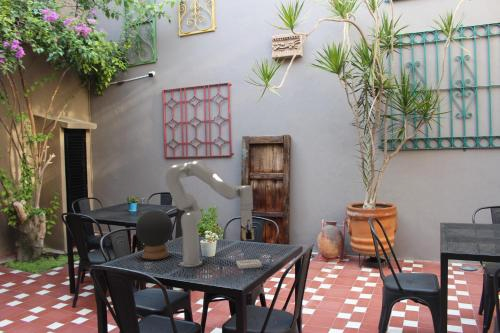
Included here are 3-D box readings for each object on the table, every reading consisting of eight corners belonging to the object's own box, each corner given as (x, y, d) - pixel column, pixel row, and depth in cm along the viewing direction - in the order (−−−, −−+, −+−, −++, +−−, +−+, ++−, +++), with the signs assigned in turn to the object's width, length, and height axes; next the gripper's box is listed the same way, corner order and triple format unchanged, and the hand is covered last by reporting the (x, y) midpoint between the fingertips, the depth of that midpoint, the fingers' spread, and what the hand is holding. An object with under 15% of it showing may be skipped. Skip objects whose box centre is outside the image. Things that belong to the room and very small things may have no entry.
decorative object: (158, 263, 267) (156, 213, 265) (128, 259, 277) (127, 212, 276) (181, 254, 287) (179, 208, 286) (153, 251, 298) (151, 207, 297)
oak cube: (241, 238, 257) (241, 228, 257) (252, 237, 258) (251, 227, 258) (243, 240, 251) (243, 229, 251) (254, 239, 252) (253, 229, 252)
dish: (236, 264, 259) (236, 261, 259) (258, 262, 262) (257, 259, 261) (239, 268, 249) (239, 265, 249) (261, 267, 252) (261, 263, 252)
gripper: (237, 205, 262) (238, 236, 262) (242, 209, 245) (244, 241, 246) (249, 205, 263) (251, 235, 264) (255, 208, 246) (257, 240, 247)
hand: (247, 238), depth 255 cm, fingers closed on oak cube, 6 cm apart
